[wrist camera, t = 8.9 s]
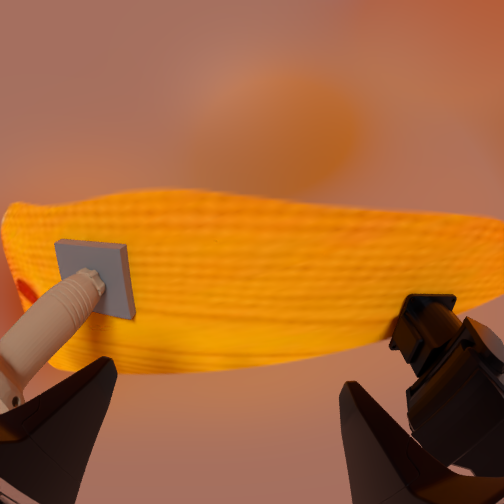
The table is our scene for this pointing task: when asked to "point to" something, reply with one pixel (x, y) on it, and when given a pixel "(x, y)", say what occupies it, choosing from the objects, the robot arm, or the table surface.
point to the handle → (45, 332)
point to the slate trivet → (100, 272)
